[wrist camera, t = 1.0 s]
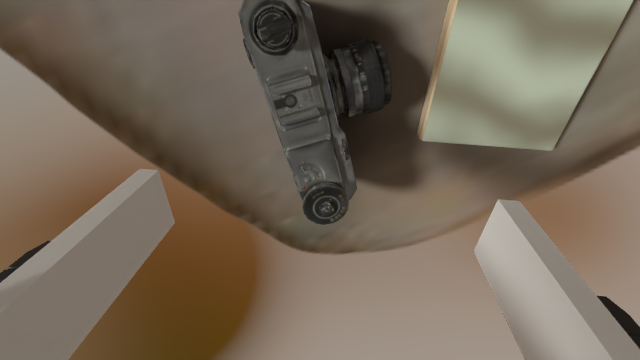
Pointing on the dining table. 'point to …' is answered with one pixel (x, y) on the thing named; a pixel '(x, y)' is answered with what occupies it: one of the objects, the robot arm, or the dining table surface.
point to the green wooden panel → (515, 69)
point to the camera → (313, 97)
